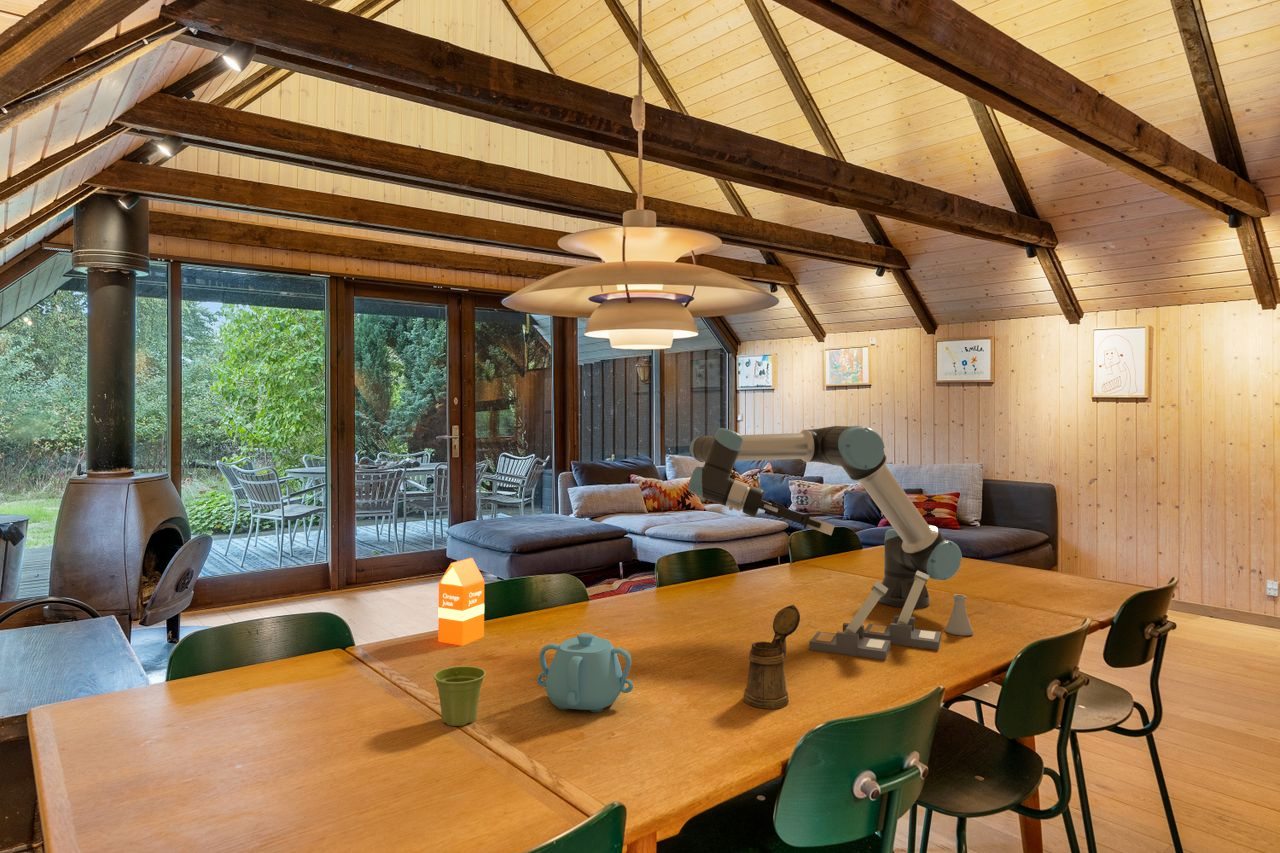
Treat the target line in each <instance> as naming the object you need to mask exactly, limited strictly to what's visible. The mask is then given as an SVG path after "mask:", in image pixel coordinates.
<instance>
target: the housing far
mask: <svg viewBox="0 0 1280 853" xmlns="http://www.w3.org/2000/svg"><path fill="white" fill-rule="evenodd" d="M899 617H900V615H896V614H894V616H893V622H890V624H889V625H888V624H887V625H886V624H885V625H884V624H879V623H876V624H875V623H871V622H870V623H868V625H867V626H866V627H865V628H864V637H867V638H874V639H882V640H890V641H891V645H893V644H896V645H895V646H901V645H903V646H904V647H909V646H912V647H911V648H917V647H919V649H925V648H927V649H926V650H933V649H934V650H933V651H939V650H940V645H941V640H942V632H941V631H936V630H926V629H918V628H915V622H916V620H915V616H911V617H910V619H909V622H908V624H907V625H905V624H897V621H898V619H899Z"/></svg>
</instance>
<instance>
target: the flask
mask: <svg viewBox="0 0 1280 853" xmlns="http://www.w3.org/2000/svg"><path fill="white" fill-rule="evenodd" d="M953 598H954V603H953V607H952V612H951V614H950V616H949V619H948V621H947V624H946V627H945V631H944V632H946V633H948V634H950V635H953V636H954V635H956V636H973V635H974V631H973V628H972V625H971V622H970V620H969V616H968V613H967V610H966V603H965V602H966V598H967V595H964V594H959V593H958V594H957V593H956V594H955V593H954V594H953Z"/></svg>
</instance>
